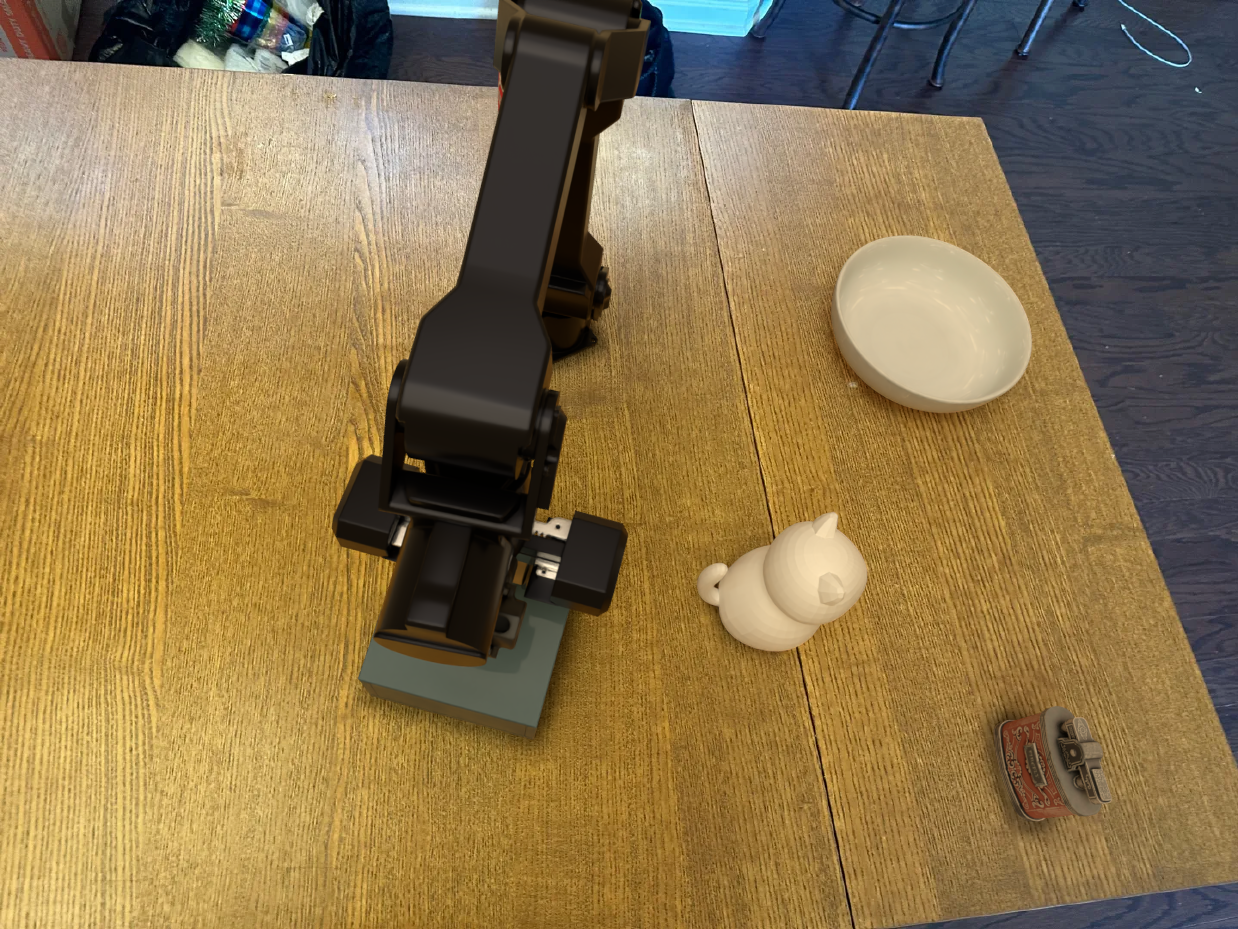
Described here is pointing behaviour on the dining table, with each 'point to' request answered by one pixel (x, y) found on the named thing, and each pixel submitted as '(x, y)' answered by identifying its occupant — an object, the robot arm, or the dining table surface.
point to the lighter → (1051, 765)
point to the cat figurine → (787, 585)
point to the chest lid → (484, 667)
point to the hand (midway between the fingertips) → (486, 572)
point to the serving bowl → (929, 324)
